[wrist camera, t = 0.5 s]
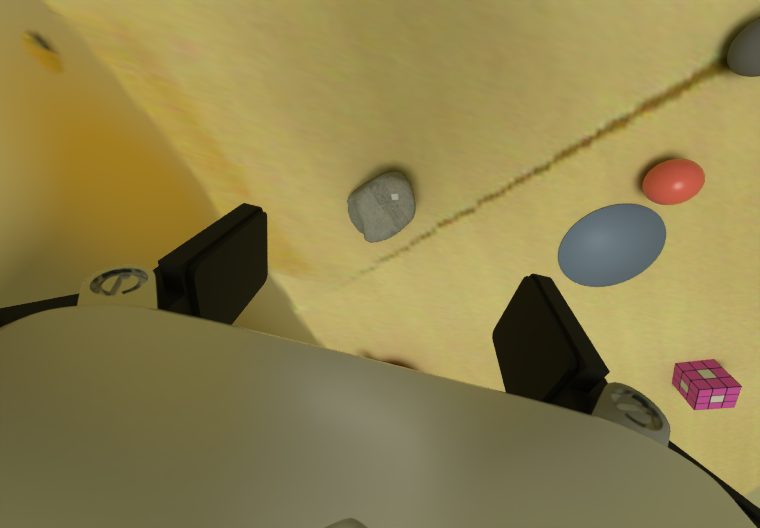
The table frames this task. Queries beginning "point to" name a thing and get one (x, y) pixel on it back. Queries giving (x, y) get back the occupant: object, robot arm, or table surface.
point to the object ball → (673, 181)
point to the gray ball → (746, 51)
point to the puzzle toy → (706, 385)
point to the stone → (382, 206)
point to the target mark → (612, 245)
